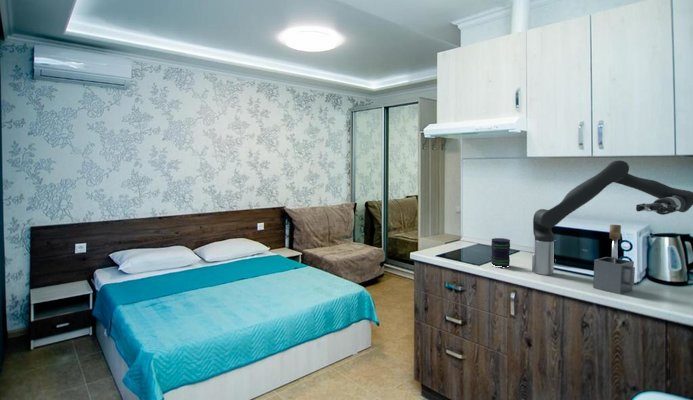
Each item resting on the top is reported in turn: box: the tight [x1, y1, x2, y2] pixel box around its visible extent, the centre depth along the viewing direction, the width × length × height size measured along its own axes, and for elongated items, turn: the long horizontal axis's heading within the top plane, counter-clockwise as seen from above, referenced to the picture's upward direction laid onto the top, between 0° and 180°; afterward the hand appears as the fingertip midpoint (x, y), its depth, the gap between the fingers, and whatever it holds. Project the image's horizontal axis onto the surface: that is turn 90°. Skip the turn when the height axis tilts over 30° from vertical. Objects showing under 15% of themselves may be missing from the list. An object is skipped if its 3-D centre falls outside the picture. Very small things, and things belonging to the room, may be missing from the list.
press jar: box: [592, 256, 636, 295], centre depth 175 cm, size 14×11×13 cm
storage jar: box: [490, 237, 511, 267], centre depth 220 cm, size 10×10×15 cm
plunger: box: [609, 224, 622, 263], centre depth 175 cm, size 9×9×22 cm
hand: (648, 209), depth 173 cm, fingers open, 8 cm apart
